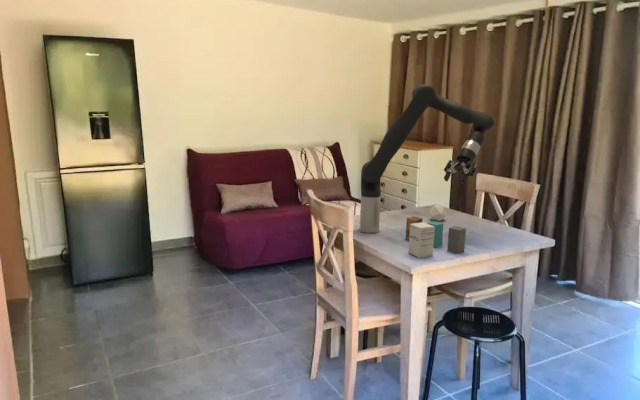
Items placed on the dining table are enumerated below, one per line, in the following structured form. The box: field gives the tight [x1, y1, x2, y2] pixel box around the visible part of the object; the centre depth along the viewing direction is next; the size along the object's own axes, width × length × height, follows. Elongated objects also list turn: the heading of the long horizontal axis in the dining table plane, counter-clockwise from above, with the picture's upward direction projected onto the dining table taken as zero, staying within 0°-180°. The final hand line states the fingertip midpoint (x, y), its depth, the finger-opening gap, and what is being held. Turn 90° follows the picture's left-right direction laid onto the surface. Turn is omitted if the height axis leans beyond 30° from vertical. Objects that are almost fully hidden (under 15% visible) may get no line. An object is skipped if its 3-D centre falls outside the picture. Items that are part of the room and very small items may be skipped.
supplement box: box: [407, 221, 435, 259], centre depth 202 cm, size 7×7×13 cm
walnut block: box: [405, 216, 423, 241], centre depth 223 cm, size 5×5×10 cm
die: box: [428, 204, 448, 223], centre depth 260 cm, size 8×9×10 cm
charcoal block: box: [446, 225, 467, 254], centre depth 207 cm, size 5×5×10 cm
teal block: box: [426, 220, 444, 248], centre depth 215 cm, size 5×5×10 cm
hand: (453, 181), depth 219 cm, fingers open, 8 cm apart
